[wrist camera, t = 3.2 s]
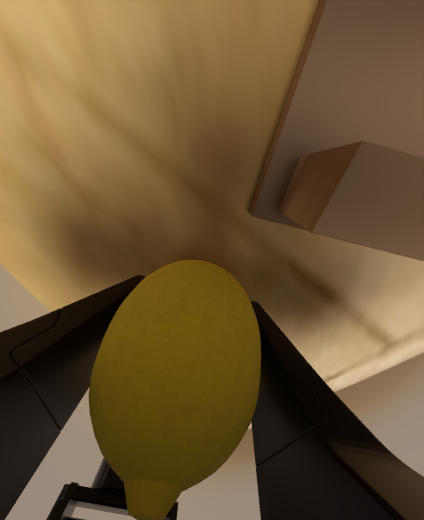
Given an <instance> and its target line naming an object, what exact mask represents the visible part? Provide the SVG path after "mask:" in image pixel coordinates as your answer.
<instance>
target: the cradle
mask: <svg viewBox="0 0 424 520" xmlns="http://www.w3.org/2000/svg"><path fill="white" fill-rule="evenodd" d="M249 213H250V214H251V216H253V217H257V218H261V219H265V220H269V221H273V222H277V223H281V224H285V225H288V226H292V227H296V228H300V229H304V230H308V231H310V232H311V233H315V234H319V235H323V236H327V237H331V238H335V239H339V240H342V241H346V242H350V243H354V244H358V245H362V246H366V247H370V248H374V249H378V250H382V251H386V252H390V253H394V254H398V255H402V256H406V257H410V258H414V259H417V260H421V261H424V0H320V1H319V4H318V7H317V10H316V13H315V16H314V19H313V22H312V25H311V28H310V31H309V33H308V36H307V39H306V42H305V45H304V48H303V51H302V54H301V57H300V60H299V63H298V66H297V69H296V72H295V75H294V78H293V81H292V84H291V87H290V90H289V93H288V96H287V99H286V102H285V105H284V108H283V111H282V114H281V117H280V120H279V123H278V126H277V129H276V132H275V135H274V138H273V141H272V144H271V147H270V150H269V153H268V156H267V159H266V162H265V165H264V168H263V171H262V174H261V177H260V180H259V183H258V186H257V189H256V192H255V195H254V198H253V201H252V204H251V207H250V210H249Z"/></svg>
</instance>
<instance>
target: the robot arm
mask: <svg viewBox="0 0 424 520" xmlns="http://www.w3.org/2000/svg"><path fill="white" fill-rule="evenodd" d="M145 277H146V276H142V275H137V276H135V277H132V278H130V279H128V280H125V281H123V282H121V283H118V284H116V285H114V286H111V287H109V288H107V289H104V290H102V291H100V292H97V293H95V294H93V295H90V296H88V297H86V298H83V299H81V300H79V301H76V302H74V303H72V304H69V305H67V306H65V307H63V308H62V309H61V308H60V309H58V310H55V311H53V312H51V313H48V314H46V315H43V316H41V317H39V318H36V319H34V320H31V321H29V322H26V323H24V324H21V325H18V326H16V327H13V328H10V329H8V330H5V331H2V332H0V520H5V518H6V517H7V515H8V514H9V512H10V510H11V509H12V507H13V506H14V504H15V503H16V501H17V499H18V498H19V496H20V495H21V493H22V492H23V490H24V489H25V487H26V485H27V484H28V482H29V481H30V479H31V477H32V476H33V474H34V473H35V471H36V470H37V468H38V466H39V465H40V463H41V462H42V460H43V459H44V457H45V456H46V454H47V453H48V451H49V449H50V448H51V446H52V445H53V443H54V442H55V440H56V438H57V437H58V435H59V434H60V430H62V429H63V427H64V425H65V424H66V423H67V421H68V419H69V418H70V416H71V415H72V413H73V411H74V410H75V408H76V407H77V405H78V404H79V402H80V400H81V399H82V398H83V396H84V394H85V393H86V391H87V390H88V388H89V387H90V379H91V375H92V371H93V367H94V363H95V360H96V357H97V354H98V351H99V349H100V346H101V343H102V340H103V338H104V336H105V333H106V331H107V329H108V327H109V325H110V323H111V321H112V319H113V317H114V315H115V313H116V312H117V310H118V308H119V307H120V305H121V304H122V303H123V301H124V300H125V299H126V298H127V296H128V295H129V294H130V293H131V292H132V291H133V290H134V288H135V287H136V286H137V285H138V284H139V283H140V282H141V281H142V280H143V279H144V278H145ZM251 304H252V307H253V309H254V312H255V315H256V318H257V322H258V326H259V332H260V341H261V371H260V385H259V394H258V399H257V404H256V409H255V412H254V414H253V417H252V420H251V422H252V432H253V442H254V453H255V462H256V467H257V468H256V473H257V484H258V494H259V505H260V514H261V520H424V477H423V476H422V475H420V474H418V473H417V472H416V471H414V470H413V469H411V468H410V467H408V466H407V465H406V464H404V463H403V462H402V461H401V460H399V459H398V458H397V457H396V456H395V455H393V454H392V453H391V452H390V451H389V450H388V449H387V448H386V447H385V446H384V445H383V444H382V443H381V442H380V441H379V440H378V439H377V438H376V437H375V436H374V435H373V434H372V433H371V431H370V430H369V429H368V428H367V427H366V426H365V425H364V424H363V423H362V422H361V421H360V420H359V419H358V418H357V416H355V414H354V413H353V412H352V411H351V410H350V409H349V408H348V407H347V406H346V405H345V404H344V403H343V402H342V400H340V398H339V397H338V396H337V395H336V394H335V393H334V392H333V391H332V390H331V388H330V387H329V386H328V385H327V384H326V383H325V382H324V381H323V379H322V378H321V377H320V376H319V375H318V374H317V372H316V371H315V370H314V369H313V368H312V367H311V365H310V364H309V363H308V362H307V361H306V359H305V358H304V357H303V356H302V355H301V353H300V352H299V351H298V350H297V349H296V348H295V346H294V345H293V344H292V343H291V342H290V340H289V339H288V338H287V337H286V336H285V334H284V333H283V332H282V331H281V330H280V328H279V327H278V326H277V325H276V324H275V322H274V321H273V320H272V319H271V318H270V316H269V315H268V314H267V313H266V312H265V310H264V309H263V308H262V307H261V306H260V304H259V303H258V302H254V301H251ZM76 506H77V507H83V508H88V509H94V510H100V511H105V512H111V513H116V514H123V515H128V516H131V515H129V514H128V511H127V503H126V495H125V488H124V482H123V481H122V480H121V478H120V477H119V476H118V475H117V474H116V473H115V472H114V470H113V469H112V468H111V467H110V465H109V464H108V462H107V461H106V459H105V458H103V461H102V463H101V465H100V467H99V470H98V472H97V475H96V477H95V479H94V482H93V484H92V486H91V488H88V487H83V486H80V485H79V484H78V483H74V482H72V483H71V484H65V485H64V487H63V489H62V491H61V493H60V495H59V497H58V499H57V501H56V502H55V504H54V506H53V508H52V510H51V512H50V514H49V516H48V518H47V519H46V520H84V519H78V518H73V517H71V516H72V513H73V512H74V509H75V507H76ZM177 509H178V502H175V503H174V505H173V506H172V508H171V509H170V511H169V512H168V514H167V516H166V517H165V519H164V520H176V519H177Z"/></svg>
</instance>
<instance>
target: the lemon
mask: <svg viewBox="0 0 424 520" xmlns="http://www.w3.org/2000/svg"><path fill="white" fill-rule="evenodd" d="M260 371H261V341H260V332H259V326H258V322H257V318H256V315H255V312H254V309H253V307H252V304H251V301H250V299H249V297H248V294H247V293H246V291H245V290H244V288H243V287H242V286H241V284H240V283H239V282H238V280H237V279H236V278H235V277H234V276H233V275H232V274H230V273H229V272H228V271H226V270H225V269H224V268H222V267H220V266H218V265H215V264H213V263H211V262H207V261H202V260H181V261H177V262H173V263H169V264H166V265H165V266H163V267H161V268H159V269H158V270H156V271H154V272H152V273H151V274H149V275H148V276H147V277H145V278H144V279H143V280H142V281H141V282H140V283H139V284H138V285H137V286H136V287H135V288H134V290H133V291H132V292H131V293H130V294H129V295H128V296H127V298H126V299H125V300H124V301H123V303H122V304H121V305H120V307H119V308H118V310H117V312H116V313H115V315H114V317H113V319H112V321H111V323H110V325H109V327H108V329H107V331H106V333H105V336H104V338H103V340H102V343H101V346H100V349H99V351H98V354H97V357H96V360H95V363H94V367H93V371H92V375H91V379H90V389H89V408H90V416H91V421H92V425H93V430H94V434H95V438H96V440H97V443H98V445H99V448H100V450H101V453H102V454H103V456H104V458H105V459H106V461H107V462H108V464H109V465H110V467H111V468H112V469H113V470H114V472H115V473H116V474H117V475H118V476H119V477H120V478H121V480H122V481H123V482H124V488H125V495H126V503H127V511H128V514H129V515H131V516H132V517H134V518H135V519H137V520H164V519H165V517H166V516H167V514H168V512H169V511H170V509H171V508H172V506H173V505H174V503H175V501H176V500H177V498H178V497H179V495H180V494H181V492H182V491H184V490H186V489H188V488H190V487H192V486H194V485H196V484H198V483H200V482H201V481H203V480H204V479H206V478H207V477H209V476H210V475H212V474H213V473H215V472H216V470H218V469H219V468H220V467H221V466H222V464H224V463H225V462H226V461H227V459H228V458H229V457H230V455H231V454H232V453H233V451H234V450H235V449H236V447H237V446H238V444H239V443H240V441H241V440H242V438H243V436H244V434H245V432H246V431H247V429H248V427H249V425H250V423H251V420H252V417H253V414H254V412H255V409H256V404H257V399H258V394H259V385H260Z"/></svg>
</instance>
